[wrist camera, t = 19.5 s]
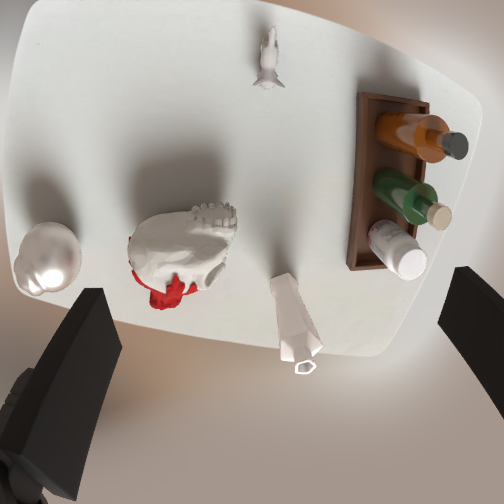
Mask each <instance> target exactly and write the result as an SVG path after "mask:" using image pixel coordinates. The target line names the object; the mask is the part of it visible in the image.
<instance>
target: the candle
mask: <svg viewBox="0 0 504 504" xmlns="http://www.w3.org/2000/svg"><path fill="white" fill-rule="evenodd" d="M236 230H237V217H236V209H234V207H233V206H231V207H230V205H229V203H228V202H227V203H226V204H225V206H224V204H223V203H222V202H220V203H218V205H217V207H215V204H214V203H210V204H209V205H208V207H207V204H201V206H200V207H198V206H197V205H195V206H194V207H192V209H191V211H189V212H173V213H166V214H158V215H155V216H153V217H151V218H148V219H146V220H144V221H143V222H141V223H140V224H139V225H138V226H137V228H136V230H135V232H134V233H133V235H132V236H130V237H129V244H128V257H129V263H130V265H131V266H132V268H133V270H132V274H133V276H134V278H135V280H136V281H137V282H138V283H139V284H140V285H142V286H144V287H145V288H147V289H150V290H151V292H150V301H149V303H150V305H151V307H153V308H155V309H160V310H164V309H166V308H175V307H176V306H177V305H179V303H180V302H181V299H182V296H183V295H188V294H191V293H194V292H196V291H198V290H207V289H209V288H210V287H211V286H212V285H213V284H214V283H215V282H216V281H217V280H218V278H219V277H220V275H221V274H222V272H223V270H224V269H225V264H224V263H225V260H226V255H227V250H228V247H229V244H230V243H231V241H232V240H233V237H234V235H235V232H236Z"/></svg>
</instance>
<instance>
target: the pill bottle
mask: <svg viewBox="0 0 504 504" xmlns="http://www.w3.org/2000/svg"><path fill="white" fill-rule="evenodd" d="M368 244H369V247H370V248H371V250H372V251H373V252H374V253H375V254H376V255H377V256H378V257H379V258H380V260H381V261H382V262H383V263H384V264H385V265H386V266H387V268H388V269H389V270H391V271H392V272H394V273H397V274H398V275H399V276H400V277H401V278H402V279H404V280H413V279H415V278H417V277H418V276H419V275H421V273H422V272H423V271H424V269H425V267H426V264H427V256H426V254H425V252H424V251H423V250H422V249H421V248H420V247H419V244H418V243H417V241H416V240H415V239H414V238H413V237H411V236H410V235H409V234H408V233H407V232H405V231H404V230H403V229H402V228H401V227H399V226H398V225H397V224H396V223H394V222H393V221H391V220H386V219H385V220H380V221H378V222H376V223H375V224H374V225H373V226H372V227H371V229H370V231H369V233H368Z"/></svg>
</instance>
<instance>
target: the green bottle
mask: <svg viewBox="0 0 504 504" xmlns="http://www.w3.org/2000/svg"><path fill="white" fill-rule="evenodd" d="M372 189H373V193H374V195H375V196H376V198H377V199H378V200H380V201H381V202H382V203H384V204H385V205H387V206H388V207H389V208H391V209H392V210H393V211H395V212H396V213H397V214H399V215H400V216H401V217H403V218H404V219H405V220H407V221H408V222H409V223H411V224H413V225H422V224H425V223H426V222H428V223H429V224H430V225H431V226H433V227H434V228H435V229H437V230H444V229H446V228H447V227H448V226H449V224H450V222H451V219H452V212H451V210H450V209H449V208H448V207H447V206H445V205H443V204H442V203H438V197H437V194H436V191H435V190H434V188H433V187H432V186H431V185H429V184H427V183H425V182H423V181H421V180H419V179H417V178H415V177H413V176H410V175H408V174H406V173H404V172H402V171H400V170H397V169H395V168H393V167H386V168H383V169H381V170H380V171H379V172H378V173H377V174H376V175H375V177H374V179H373V183H372Z"/></svg>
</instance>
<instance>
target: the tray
mask: <svg viewBox="0 0 504 504" xmlns="http://www.w3.org/2000/svg"><path fill="white" fill-rule="evenodd" d="M386 111H402V112H412V113H420V114H429V103H427V102H422V101H416V100H411V99H406V98H400V97H394V96H387V95H380V94H373V93H365V92H362V93H357V129H356V156H355V175H354V190H353V203H352V214H351V225H350V235H349V244H348V252H347V261H346V264H347V266H348V267H349V269H350V271H358V270H372V269H385V268H387V266H386V265H385V264H384V263H383V262H382V261H381V260H380V258H379V257H378V256H377V255H376V254H375V253H374V252H373V251H372V250H371V248H370V247H369V244H368V233H369V231H370V229H371V227H372V226H373V225H374V224H375V223H376V222H378V221H380V220H385V219H386V220H391V221H393V222H394V223H396V224H397V225H398V226H399V227H401V228H402V229H403V230H404V231H405V232H407V233H408V234H409V235H410V236H411V237H413V238H414V239H415V238H416V233H417V227H418V225H413V224H411V223H409V222H408V221H407V220H405V219H404V218H403V217H401V216H400V215H399V214H397V213H396V212H395V211H393V210H392V209H391V208H389V207H388V206H387V205H385V204H384V203H382V202H381V201H380V200H378V199H377V198H376V196H375V195H374V193H373V189H372V183H373V179H374V177H375V175H376V174H377V173H378V172H379V171H380V170H381V169H383V168H386V167H393V168H395V169H397V170H400V171H402V172H404V173H406V174H408V175H410V176H413V177H415V178H417V179H419V180H421V181H423V182H424V179H425V169H426V161H423V160H420V159H418V158H415V157H412V156H409V155H406V154H404V153H401V152H398V151H395V150H392V149H389V148H386V147H384V146H383V145H382V144H381V143H380V142H379V141H378V139H377V137H376V133H375V124H376V121H377V119H378V117H379V116H380V115H381V114H382V113H384V112H386Z"/></svg>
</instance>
